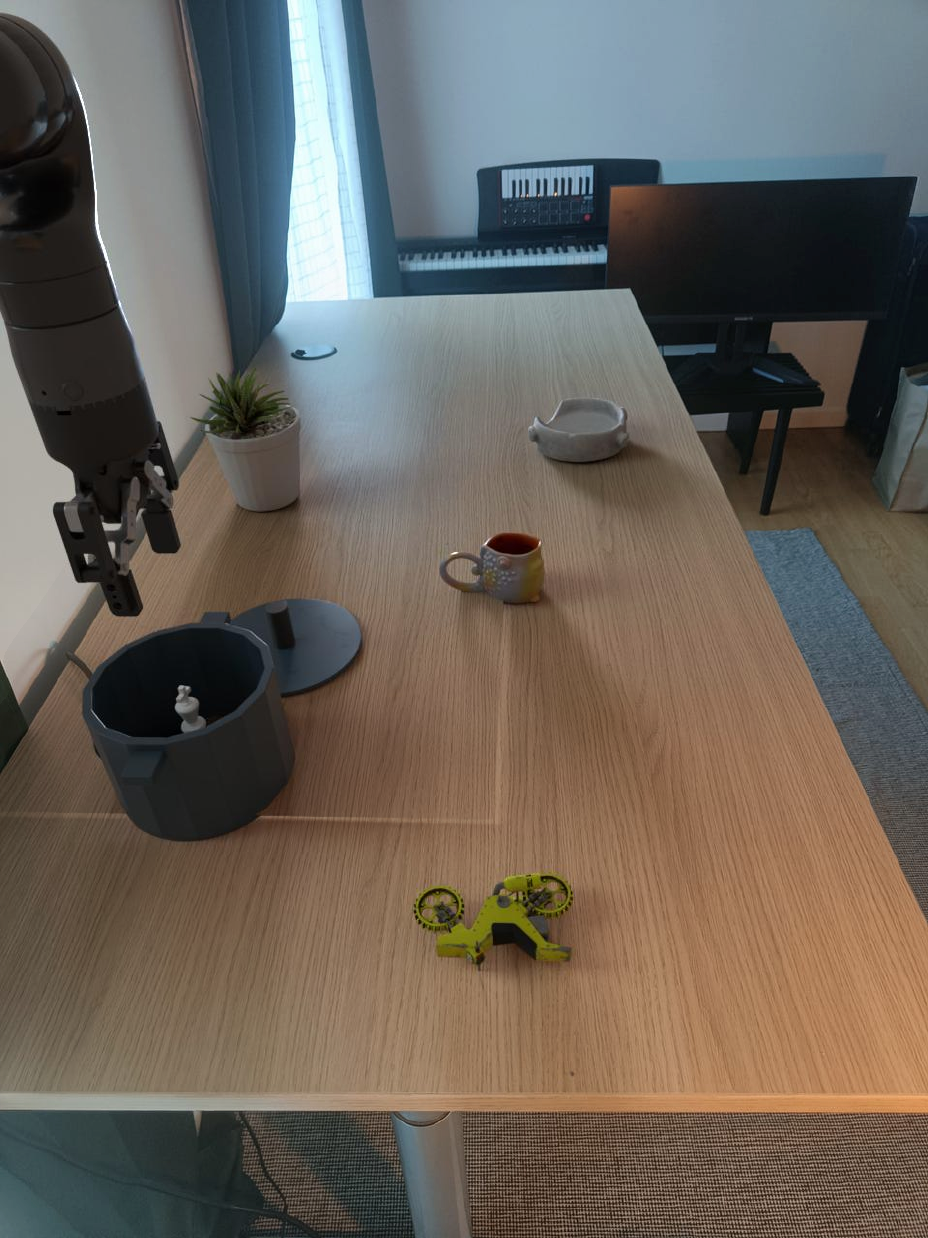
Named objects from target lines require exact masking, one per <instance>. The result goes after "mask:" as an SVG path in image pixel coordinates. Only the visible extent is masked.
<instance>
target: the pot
mask: <svg viewBox="0 0 928 1238" xmlns="http://www.w3.org/2000/svg"><path fill="white" fill-rule="evenodd" d="M231 619H232V616H231V612H230V611H204V612H203V614H202V617H201V618H200V621H199V622H189V623H184V624H180V625H175V626H171V627H166V628H162V629H158V630H155V631H152V632H151V633H148V634H146V635H143V636H141V637H139V638H137V639H135V640H133V641H131V642H129V643H127V644H124V645H123V646H121V647H120V648H119V649H118V650H116V651H115V652H114V653H113V654H111V655H110V656H109V657H108V658H106V659H105V660H104V661H103V662H101V663H100V664H99V665H98V666H96V669H95V670H94V671H93V673H92V675H91V677H90V678H89V679H88V681H87V683H86V684H85V686H84V687H83V689H82V701H81V715H82V717H83V721H84V723H85V725H86V727H87V730H88V732H89V734H90V737H91V739H92V741H93V743H94V746H95V748H96V751H97V753H98V755H99V757H100V760H101V762H102V764H103V767H104V769H105V772H106V773H107V777H108V778H109V781H110V783H111V786H112V788H113V791H114V794H115V795H116V797H117V800H118V802H119V805H120V806H121V808H122V809H123V810H124V812H125V814H126V815H127V817H128V819H129V820H130V821H131V822H132V824H134V825H135V826H136V827H137V828H138V829H140V830H141V831H142V832H144V833H146V834H148V835H150V836H153V837H156V838H159V839H163V840H168V841H176V842H193V841H194V842H195V841H203V840H209V839H212V838H217V837H220V836H223V835H226V834H229V833H232V832H235V831H236V830H238V829H241V828H244V827H245V826H247V825H248V824H250V823H252V822H254V821H255V820H257V819H258V818H260V817H261V815H260V814H259V813H261V812H262V811H264V810H265V809H267V808H268V807H269V806H270V805H271V804H272V802H273V801H274V800H275V799H276V798H277V796H278V795H279V794H280V793H281V792H282V790H283V789H284V788H285V787H286V786H287V785H288V783H289V780H290V777H291V773H292V770H293V767H294V764H295V760H296V755H295V749H294V746H293V741H292V737H291V733H290V729H289V724H288V720H287V716H286V712H285V711H286V710H285V708H284V702H283V699H282V698H283V697H281V694H280V690H279V686H278V682H277V677H276V673H275V669H274V665H273V661H272V657H271V653H270V649H269V647H268V645H266V644H265V643H264V642H263V641H262V640H261V639H259V638H258V637H257V636H256V635H255V634H254V633H252V632H251V631H250V630H246V629H243V628H239V627H236V626H232V625H229V624H230V621H231ZM180 685H182V686H189V687H190V688H191V691H190V693H189V694H188V697H194V698H196V699H197V700H198V701H199V709H198V716H201V717H203V718H204V719H205V720H209V719H212V718H216V717H217V718H218V717H222V718H219V719H218V720H216V721H214V722H212V723H210V724H208V725H206V726H205V727H204V728H202V729H198V730H195V731H191V732H187V733H184V732H182V733H179V734H175V735H171V736H168V735H169V734H171V733H173V732H175V731H176V730H178V729H181V724H182V722H183V721H184V719H183V718H182V717H181V716H180V715H179V714H178V713H177V712H176V710H175V705H176V703H177V701H176V698H177V697H178V695H179V691H178V687H179V686H180ZM165 736H168V737H165Z"/></svg>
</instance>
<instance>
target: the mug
mask: <svg viewBox="0 0 928 1238" xmlns="http://www.w3.org/2000/svg"><path fill="white" fill-rule="evenodd" d="M542 549H543V540H542V539H541V538H539V537H538V536H535V535H533V534H528V533H523V532H516V531H515V532H514V531H505V532H500V533H496V534H494V535H492V536H491V537H489V538H488V540H487V541H486V542H485V543H483V544H482V545H481V547H480V550H479V556H477V555H476V554H473V553H471V552H468V551H457V552H453V553H450V554H448V555H446V556H445V557H444V558H443V559H442V561H441V562H440V564H439V568H438V570H439V571H438V572H439V576H440V578H441V579H442V582H444V583H445V584H446V585H448V586H449V587H451V588H453V589H455V590H457V591H461V592H465V593H482V594H488V595H489V596H491V597H492V598H494V599H495V600H499V601H502V602H503V604H514V605H515V604H523V603H528V602H530V603H537V602H539V601H540V598H541V597H540V595H539V593H540V591H541V590H542V588H543V586H544V582H545V576H546V572H545V560H544V558H543V555H542ZM458 559H459V560H460V559H462V560H463V559H465V560H469V561H471V562H473V563H474V565H473V566H472V567H471V570H470V571H471V574H472V575H473V576H476V577H477V576H478V579H477V580H475V581H469V582H467V581H461V580H457V579H455V578H453V577H452V576H451V575H450V573H449V572H448V571H447V567H448V565H449V564H450V563H451V562H453V561H455V560H458Z"/></svg>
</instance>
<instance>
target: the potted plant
mask: <svg viewBox="0 0 928 1238" xmlns="http://www.w3.org/2000/svg"><path fill="white" fill-rule="evenodd" d="M256 367H257V366H254V367H253V368H252V370H251V372H249V373H248V374H247V375H246V376H245V377H244V379H243V381H242V384H241V385H240V381H241V380H240V379H241V370H239V371H238V372H237V375H236V378H235V381H233V377H232V374H231V371H228V376H229V381H230V385H229V384H228V383H227V382H226V380H225V379H224V378H223V376H222V375H221V374H220V373H217V371H215V375H216V380H217V382H218V384H219V387H220V388H221V390H222V391H219V390H218V388H217V387H216V386H215V385H214V383H213V381H212V380H211V378H210V377H208V378H207V379H208V381H209V383H210V386H211V387H212V389H213V390H212V394H213V395H214V396H215V397H216V399H218V401H216V400H215V399H212V398H210V397H208V396H206V395H203V394H202V393H200V394H198V395H199V396H201V397H202V398H204V399H206V400H208V401H210V402H211V403H212V404H214V405H215V406H216V407H215V406H212V405H210V406H209V407H208V409H209V410H210V411H211V412H213V413H214V415H213V416H212V417H210V418H209V419H200V418H196V417H192V416H190V417H189V418H190V419H191V420H193V421H195V422H198V423H200V424H201V423H202V424H205V425H204V430H202V429H199V431H200V432H202V433H203V434H205V435H206V437H207V439H208V442H209V444H210V445H211V446H212V448H213V450H214V452H215V455H216V458H217V460H218V462H219V465H220V467H221V469H222V471H223V474H224V477H225V479H226V482H227V484H228V486H229V489H230V491H231V493H232V495H233V497H234V499H235V502H236V503H237V504H238V506H239V507H241V509H242V508H243V509H244V510H247V511H251V512H258V513H259V512H260V513H261V512H270V511H271V512H272V511H275V510H280V509H283V508H285V507H287V506H289V505H291V504H292V503H293V502H295V501H296V500H297V498H298V497H299V495H300V490H301V489H300V488H301V449H300V447H301V443H300V432H301V425H302V424H301V423H302V422H301V413H300V411H298V410H297V408H295V407H293V406H291V403H289V402H281V401H289V398H288V397H276V398H272V397H274V396H276V395H279V394H282V393H285V392H286V391H285V390H279V391H274V392H270V393H268V394H266V395H263V396H260V397H259V398H258V395H259V392H260V390H262V389H263V388H265V387H267V386H269V385H271V384H272V383H271V382H268V383H265V384H261V385H260V383H258V384H257V387H256V388H255V389H254V390H253V388H254V385H255V382H256V381H257V377H258V375H259V371H257V372H256V374H254V373H255V371H256V370H257V368H256ZM271 398H272V399H271Z"/></svg>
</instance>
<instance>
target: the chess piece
mask: <svg viewBox="0 0 928 1238" xmlns="http://www.w3.org/2000/svg"><path fill="white" fill-rule="evenodd" d="M178 691H179V695H178V697H177V698H176V701H177V703H176V705H175V710H176V712H177V713H178V714H179V715H180V716H181V717H182V718H183V719H184V721H183V722H182V724H181V727H180V731H181V732H182V733H187V732H191V731H195V730H198V729H202V728H205V727H206V726H207V721H206V719H204V718H203V717H201V716H198V709H199V701H198V700H197V699H196V698H194V697H188V694H189V693H190V691H191V688H190V687H189V686H182V685H180V686H179V687H178Z"/></svg>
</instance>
